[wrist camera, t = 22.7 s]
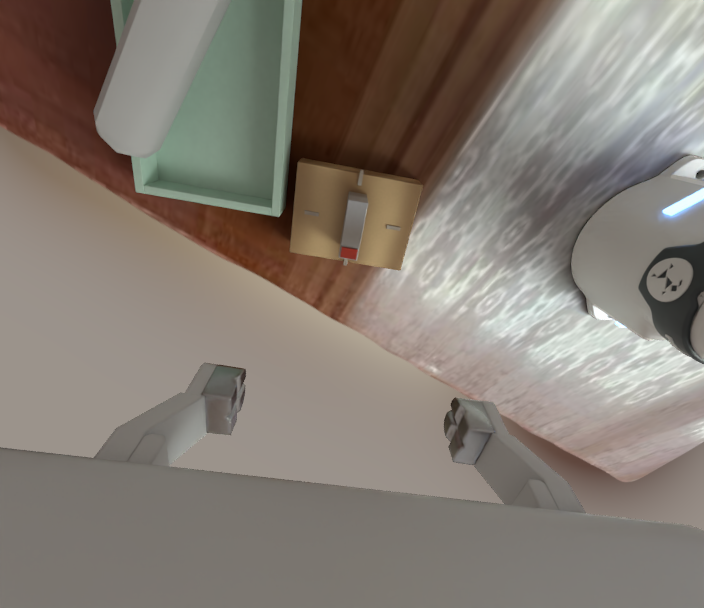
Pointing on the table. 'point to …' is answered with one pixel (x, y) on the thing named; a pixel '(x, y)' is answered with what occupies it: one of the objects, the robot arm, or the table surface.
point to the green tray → (231, 114)
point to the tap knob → (353, 225)
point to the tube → (154, 71)
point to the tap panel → (330, 205)
